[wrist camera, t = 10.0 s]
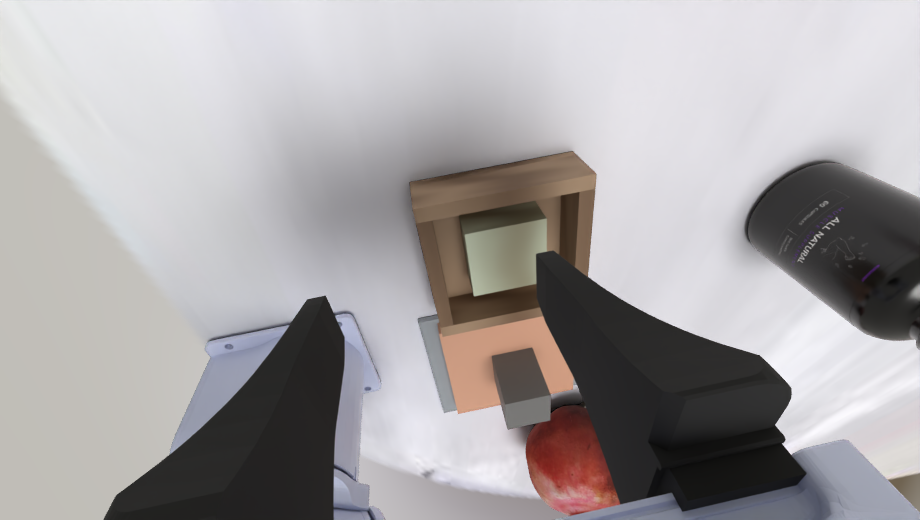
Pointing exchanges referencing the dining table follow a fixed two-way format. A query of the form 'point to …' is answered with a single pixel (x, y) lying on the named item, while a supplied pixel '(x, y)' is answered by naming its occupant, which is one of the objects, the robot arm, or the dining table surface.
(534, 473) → the fruit
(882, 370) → the dining table surface
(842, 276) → the supplement bottle
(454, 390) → the lid
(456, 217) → the box
